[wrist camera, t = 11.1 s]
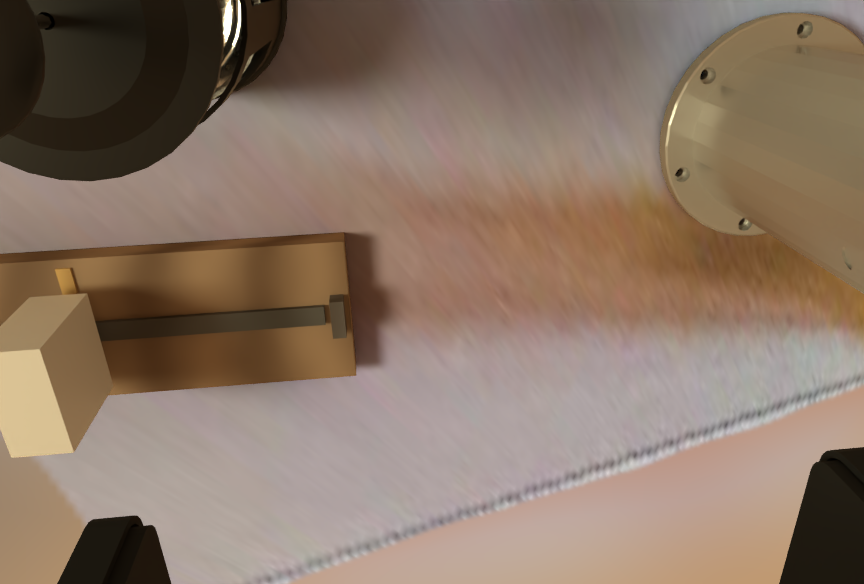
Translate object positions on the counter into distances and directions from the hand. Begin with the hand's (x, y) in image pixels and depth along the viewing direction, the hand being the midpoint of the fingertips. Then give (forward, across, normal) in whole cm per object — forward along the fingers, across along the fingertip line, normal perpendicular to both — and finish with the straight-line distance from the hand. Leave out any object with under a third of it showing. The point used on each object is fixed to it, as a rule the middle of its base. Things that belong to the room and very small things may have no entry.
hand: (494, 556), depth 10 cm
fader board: (+30, +14, +11) cm, 35 cm away
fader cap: (+28, +19, +11) cm, 35 cm away
